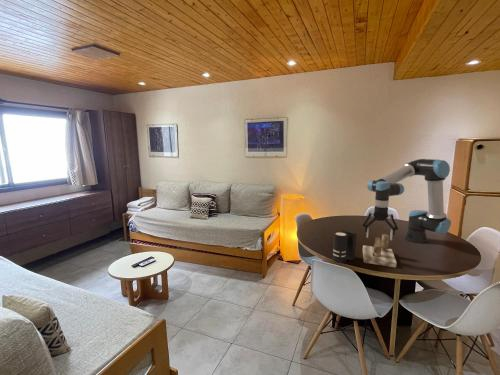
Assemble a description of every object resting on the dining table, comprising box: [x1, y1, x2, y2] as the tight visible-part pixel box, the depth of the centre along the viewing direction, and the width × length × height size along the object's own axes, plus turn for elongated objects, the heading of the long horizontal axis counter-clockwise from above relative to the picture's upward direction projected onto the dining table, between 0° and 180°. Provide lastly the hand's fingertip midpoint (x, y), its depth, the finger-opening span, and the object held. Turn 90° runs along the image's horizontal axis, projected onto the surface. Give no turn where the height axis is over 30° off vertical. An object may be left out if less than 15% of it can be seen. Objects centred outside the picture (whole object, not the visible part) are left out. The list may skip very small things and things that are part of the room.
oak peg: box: [373, 237, 382, 257], centre depth 163 cm, size 4×4×14 cm
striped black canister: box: [332, 228, 357, 264], centre depth 163 cm, size 10×14×18 cm
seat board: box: [362, 233, 397, 268], centre depth 165 cm, size 18×22×14 cm
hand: (379, 238), depth 162 cm, fingers open, 13 cm apart
